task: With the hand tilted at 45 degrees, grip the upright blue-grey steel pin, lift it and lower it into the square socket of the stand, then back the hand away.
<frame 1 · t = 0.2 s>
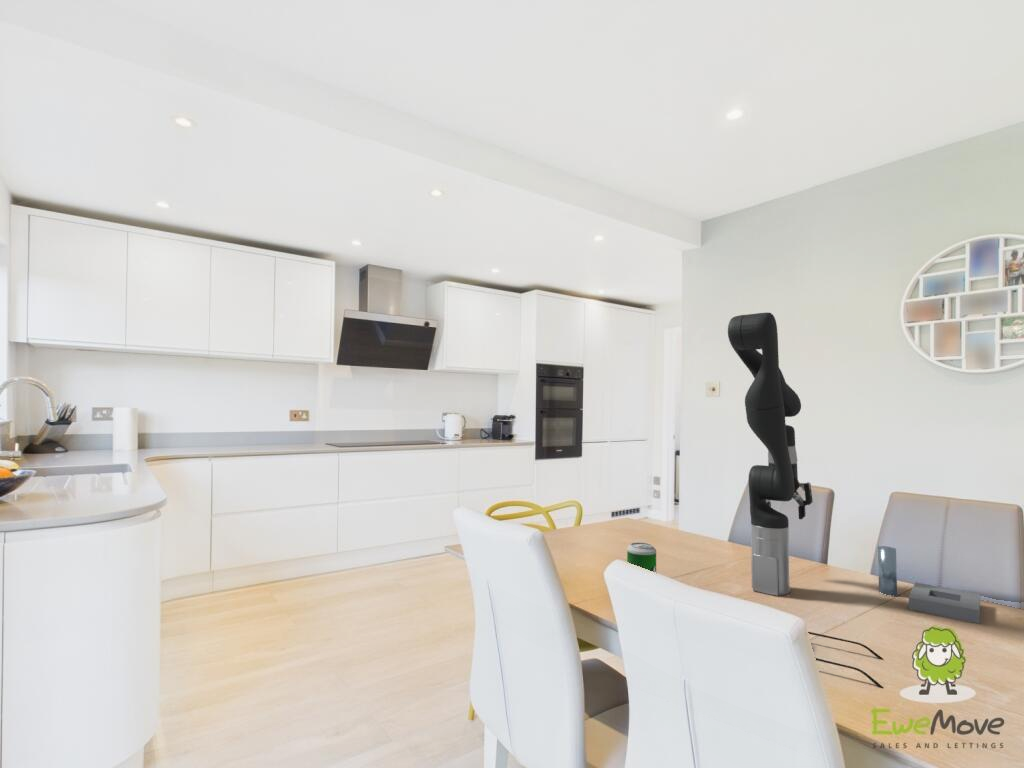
hand: (784, 517, 156), 18 cm above the table, tool pointing down, fingers open, 8 cm apart
steel pin: (888, 593, 143), on the table
glasses: (831, 664, 103), on the table
soda can: (641, 591, 143), on the table
socket stand: (945, 607, 133), on the table
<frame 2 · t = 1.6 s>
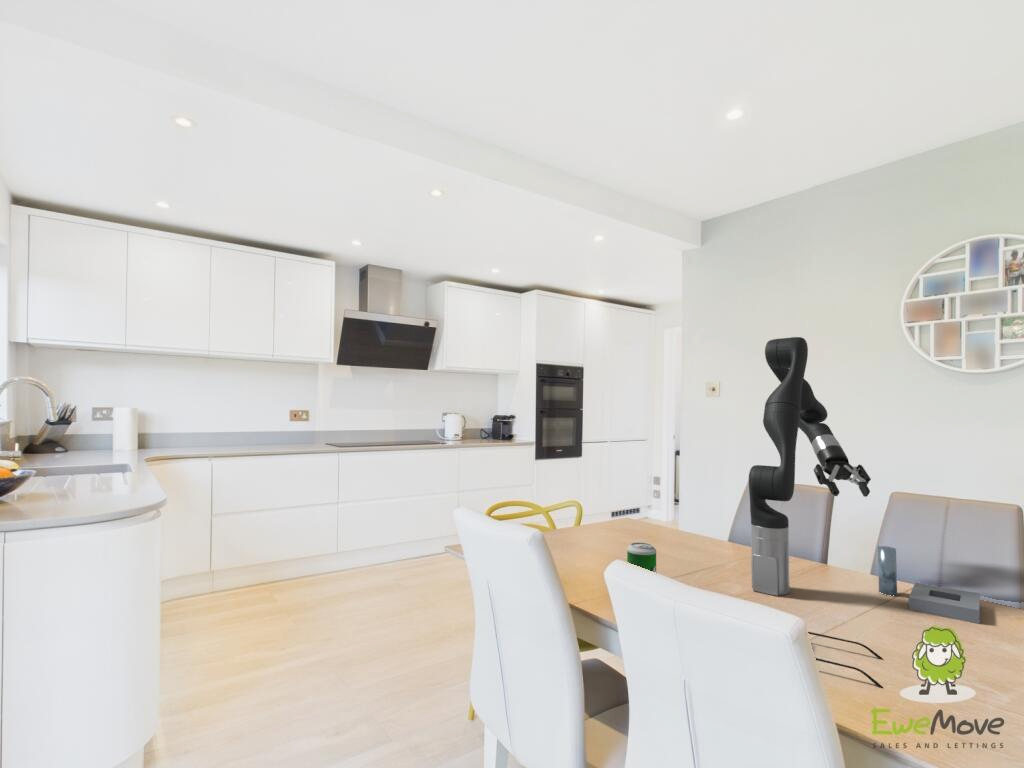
hand: (852, 494, 156), 24 cm above the table, tool tilted 45°, fingers open, 8 cm apart
nothing on the table moved.
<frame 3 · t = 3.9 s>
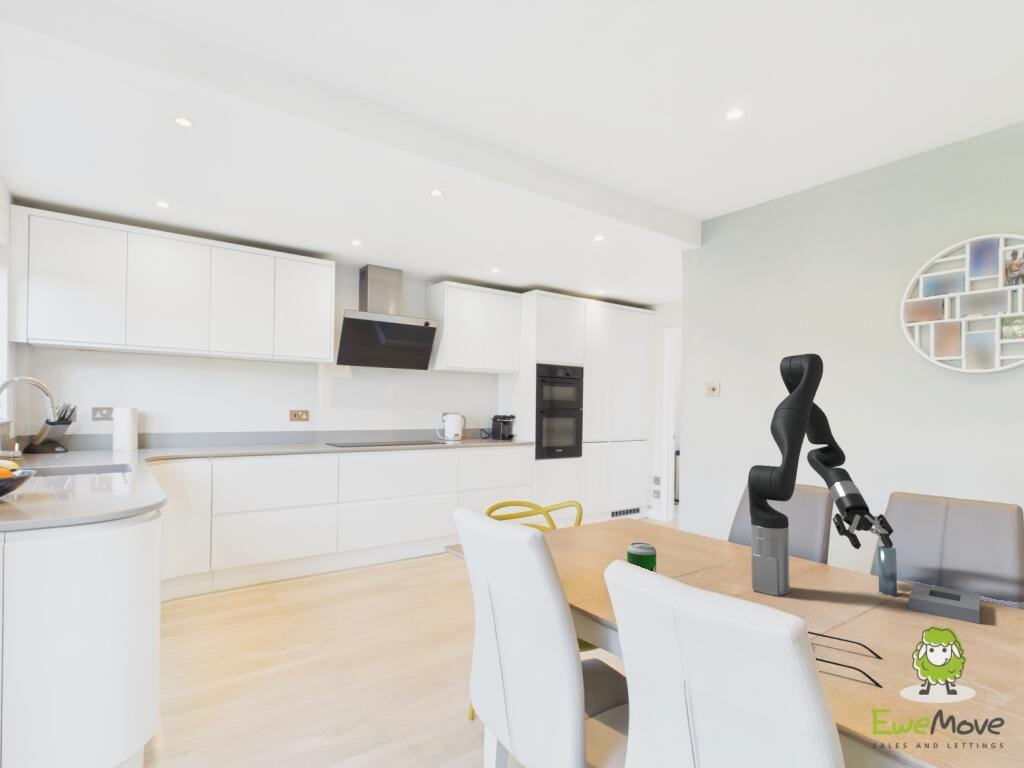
hand: (874, 547, 149), 11 cm above the table, tool tilted 45°, fingers open, 8 cm apart
nothing on the table moved.
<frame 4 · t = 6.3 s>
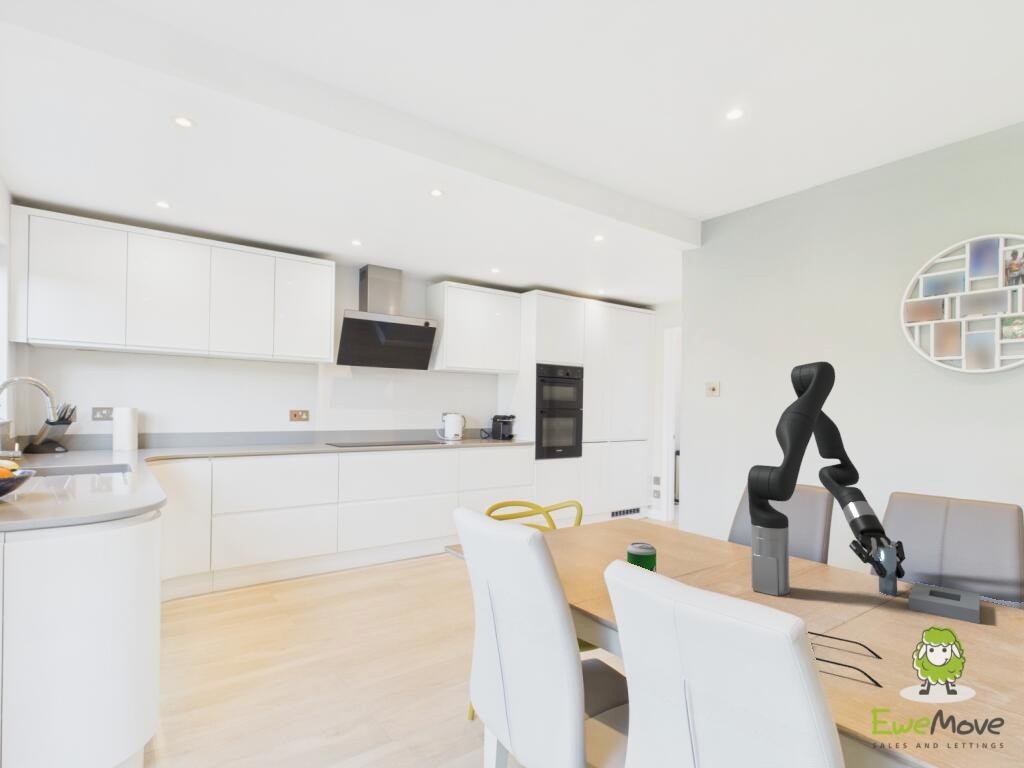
hand: (892, 576, 141), 5 cm above the table, tool tilted 45°, fingers closed on steel pin, 4 cm apart
steel pin: (888, 593, 143), on the table, touching gripper
everything else where it was.
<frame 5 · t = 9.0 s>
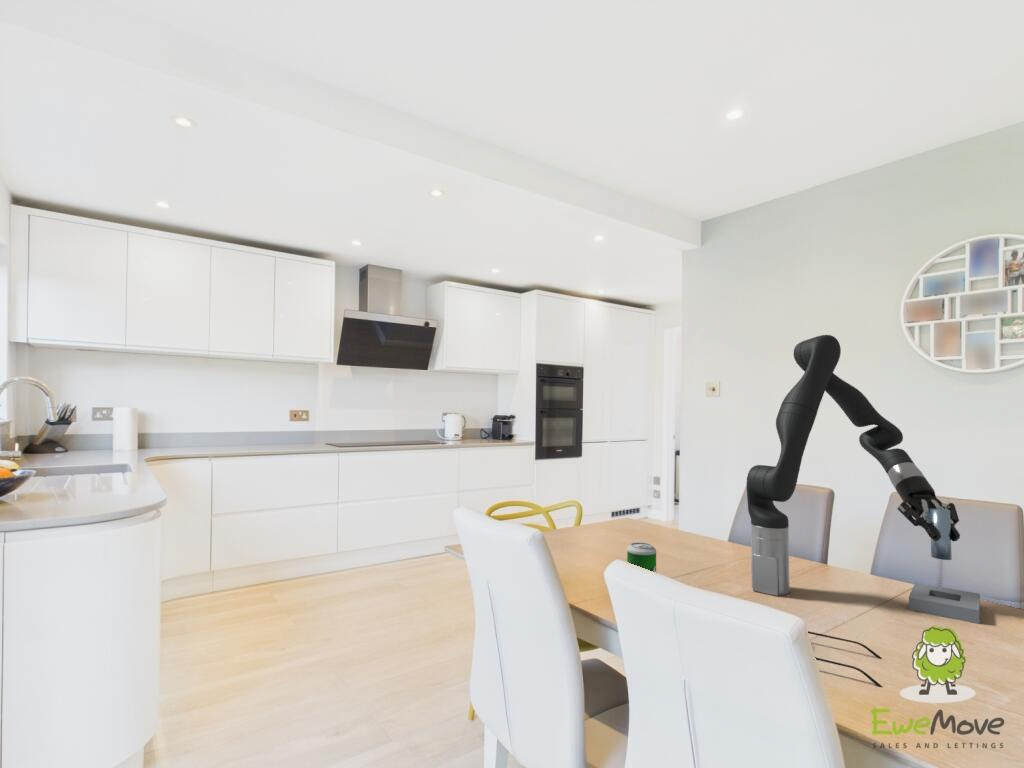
hand: (947, 539, 133), 17 cm above the table, tool tilted 45°, fingers closed on steel pin, 4 cm apart
steel pin: (941, 557, 134), point 12 cm above the table, touching gripper
everything else where it was.
when the fingers open (6 cm above the table, at t = 11.9 s): steel pin drops 1 cm, resting in socket stand.
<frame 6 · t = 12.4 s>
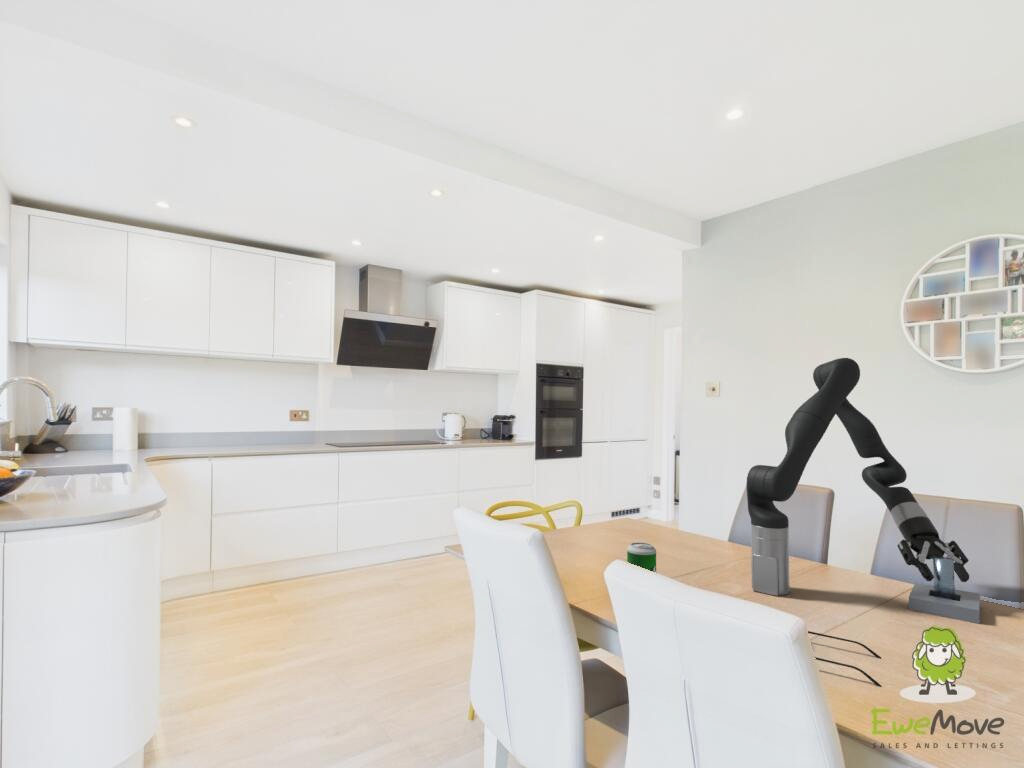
hand: (948, 580, 132), 7 cm above the table, tool tilted 45°, fingers open, 8 cm apart
steel pin: (944, 607, 133), resting in socket stand
everything else where it was.
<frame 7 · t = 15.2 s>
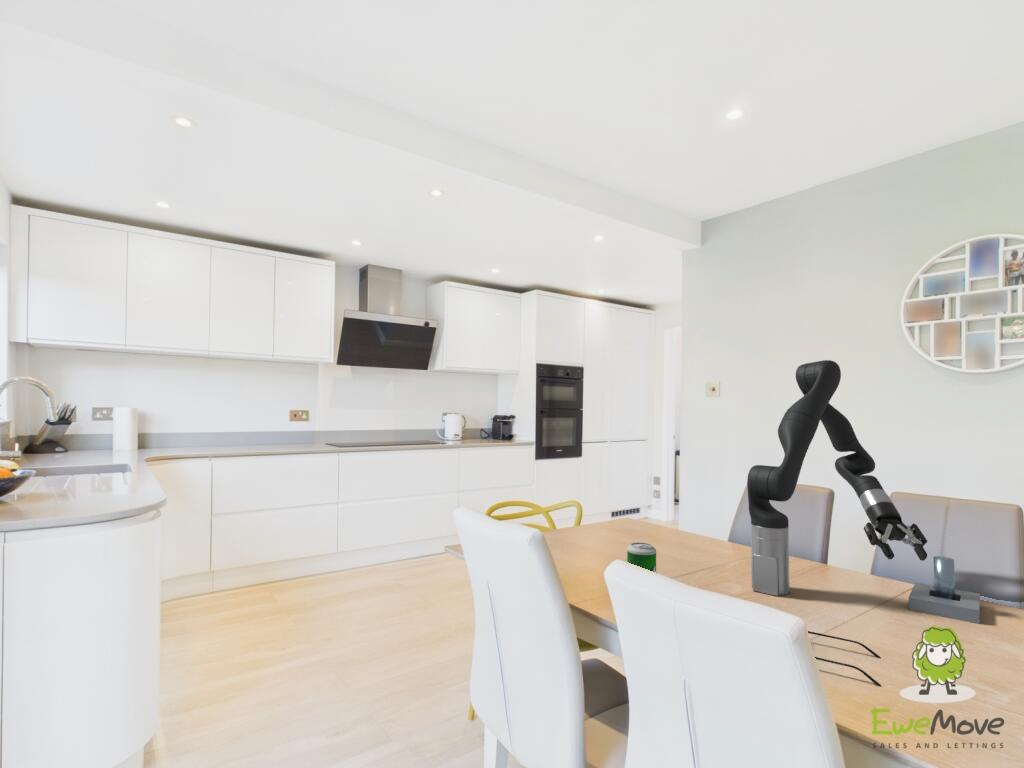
hand: (908, 558, 145), 9 cm above the table, tool tilted 45°, fingers open, 8 cm apart
nothing on the table moved.
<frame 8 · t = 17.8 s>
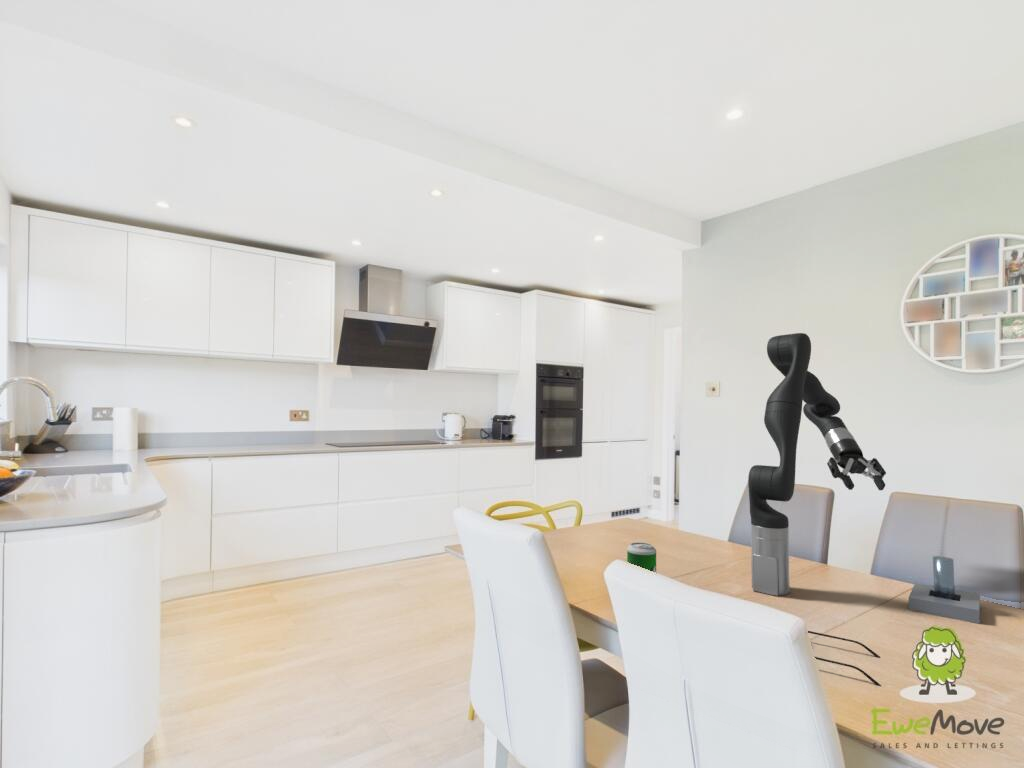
hand: (867, 488, 153), 27 cm above the table, tool tilted 45°, fingers open, 8 cm apart
nothing on the table moved.
at the end: steel pin 0.1 cm off-centre on the socket stand, point 0.0 cm above the socket stand's base; steel pin tilted 1°; the gripper is holding nothing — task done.
